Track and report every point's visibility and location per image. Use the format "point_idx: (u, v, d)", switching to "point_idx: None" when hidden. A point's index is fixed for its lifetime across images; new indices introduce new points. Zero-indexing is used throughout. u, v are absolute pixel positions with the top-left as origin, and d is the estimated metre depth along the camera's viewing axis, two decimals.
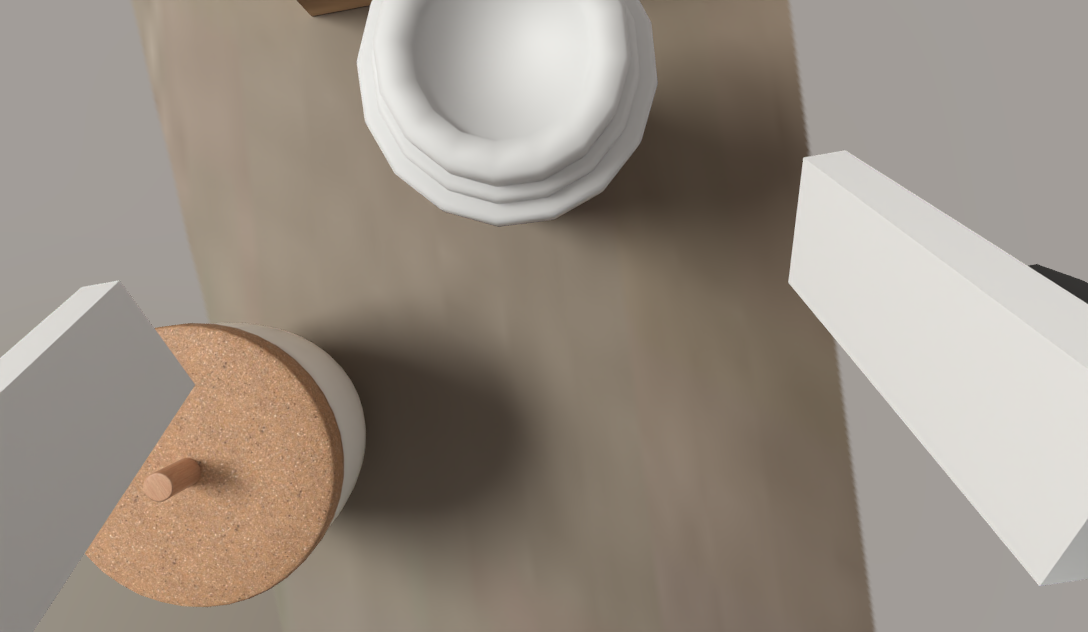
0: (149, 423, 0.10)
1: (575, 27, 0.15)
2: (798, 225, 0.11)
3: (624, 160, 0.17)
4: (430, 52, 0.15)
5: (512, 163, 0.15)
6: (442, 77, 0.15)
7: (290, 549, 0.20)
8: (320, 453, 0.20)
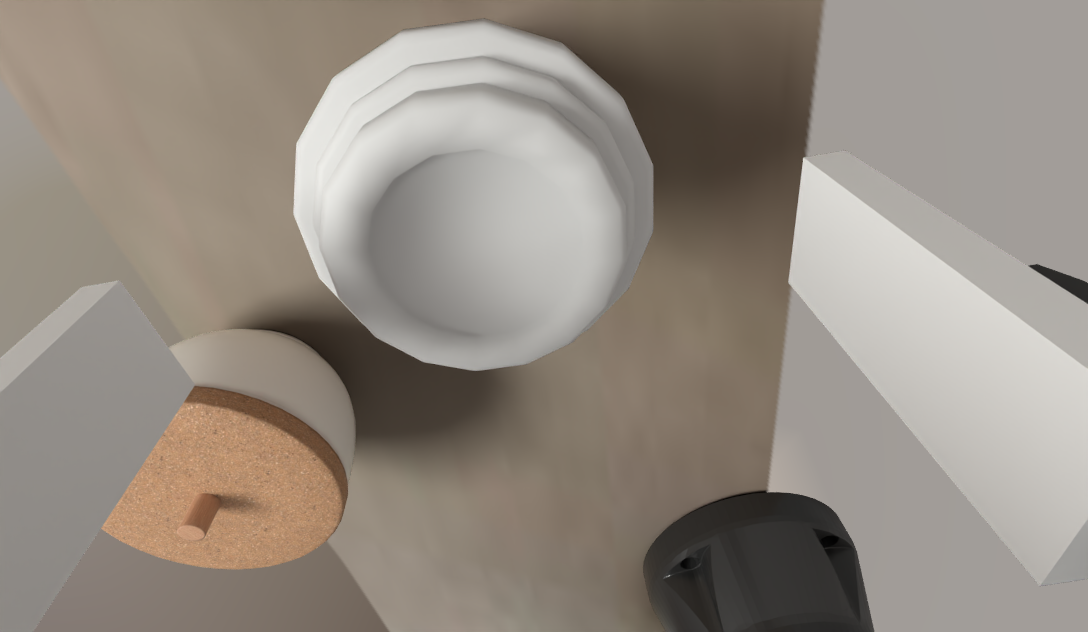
0: (150, 423, 0.10)
1: (565, 224, 0.13)
2: (798, 225, 0.11)
3: None
4: (392, 253, 0.13)
5: (495, 360, 0.14)
6: (410, 277, 0.13)
7: (315, 536, 0.25)
8: (325, 482, 0.23)
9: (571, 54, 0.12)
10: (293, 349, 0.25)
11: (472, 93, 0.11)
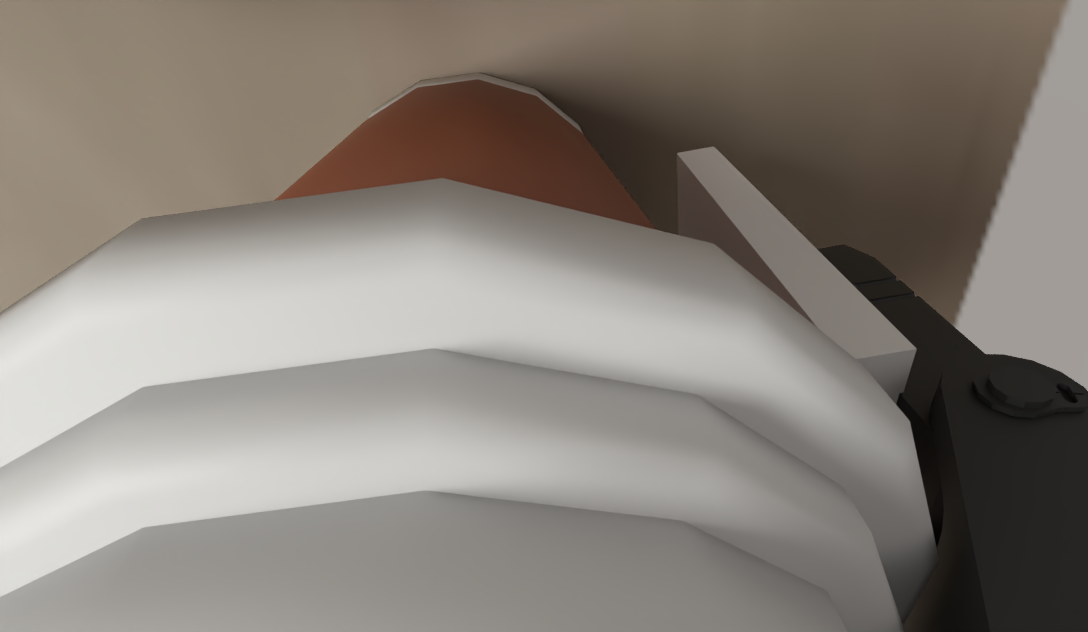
0: None
1: None
2: (680, 214, 0.12)
3: None
4: None
5: None
6: None
7: None
8: None
9: (772, 318, 0.03)
10: None
11: None
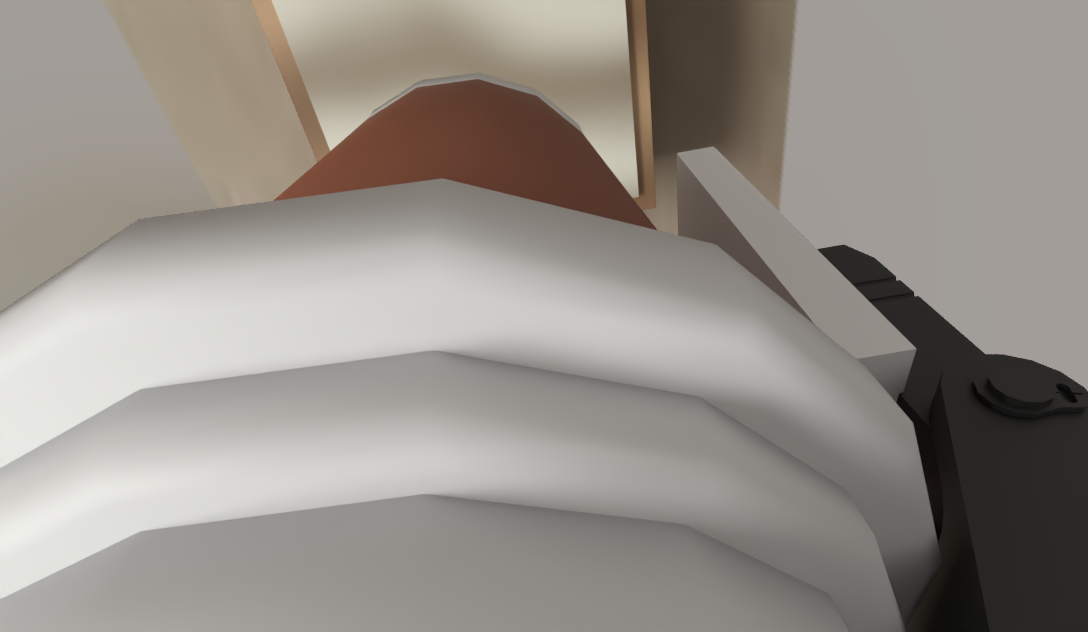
0: None
1: None
2: (680, 214, 0.12)
3: None
4: None
5: None
6: None
7: None
8: None
9: (774, 319, 0.03)
10: None
11: None
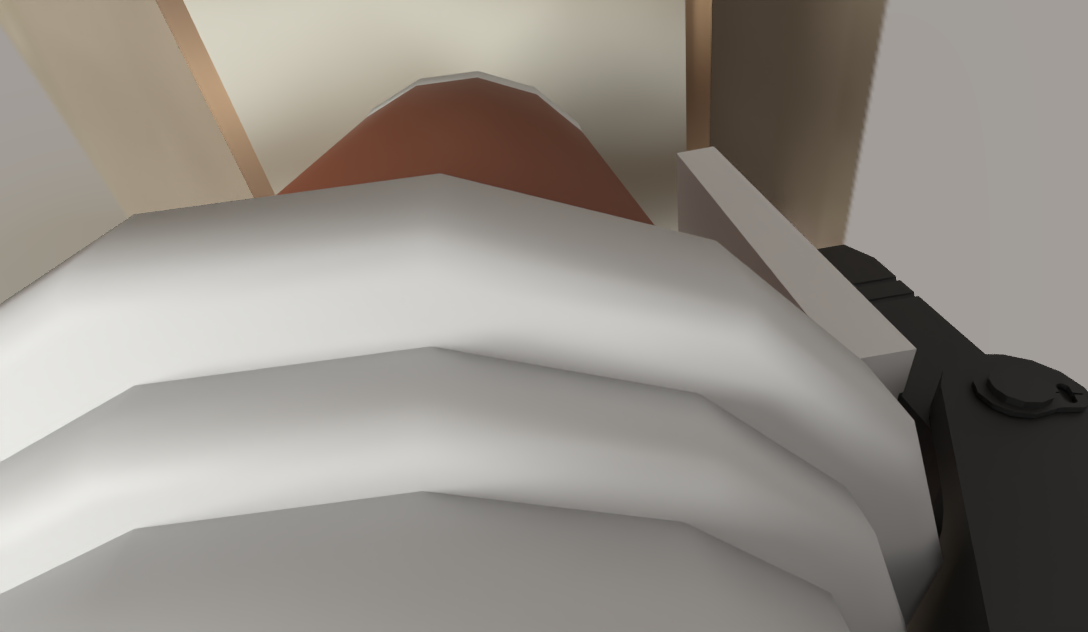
0: None
1: None
2: (680, 214, 0.12)
3: None
4: None
5: None
6: None
7: None
8: None
9: (775, 316, 0.03)
10: None
11: None
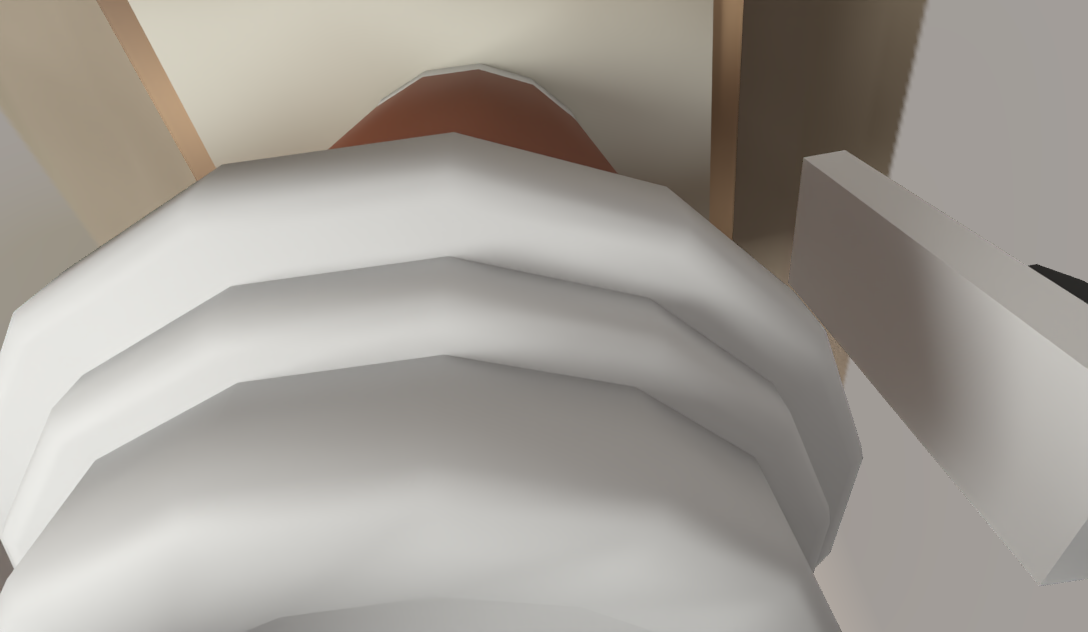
0: None
1: None
2: (798, 225, 0.11)
3: None
4: None
5: None
6: None
7: None
8: None
9: (706, 237, 0.04)
10: None
11: (400, 468, 0.03)
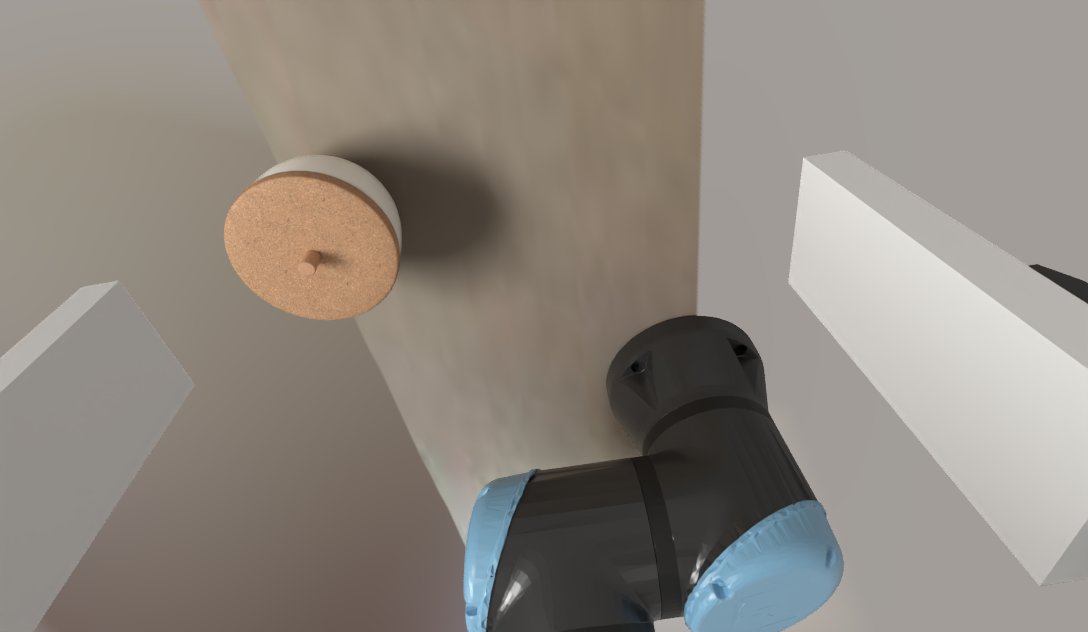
0: (150, 423, 0.10)
1: None
2: (797, 225, 0.11)
3: None
4: None
5: None
6: None
7: (378, 291, 0.37)
8: (388, 244, 0.35)
9: None
10: (362, 168, 0.37)
11: None
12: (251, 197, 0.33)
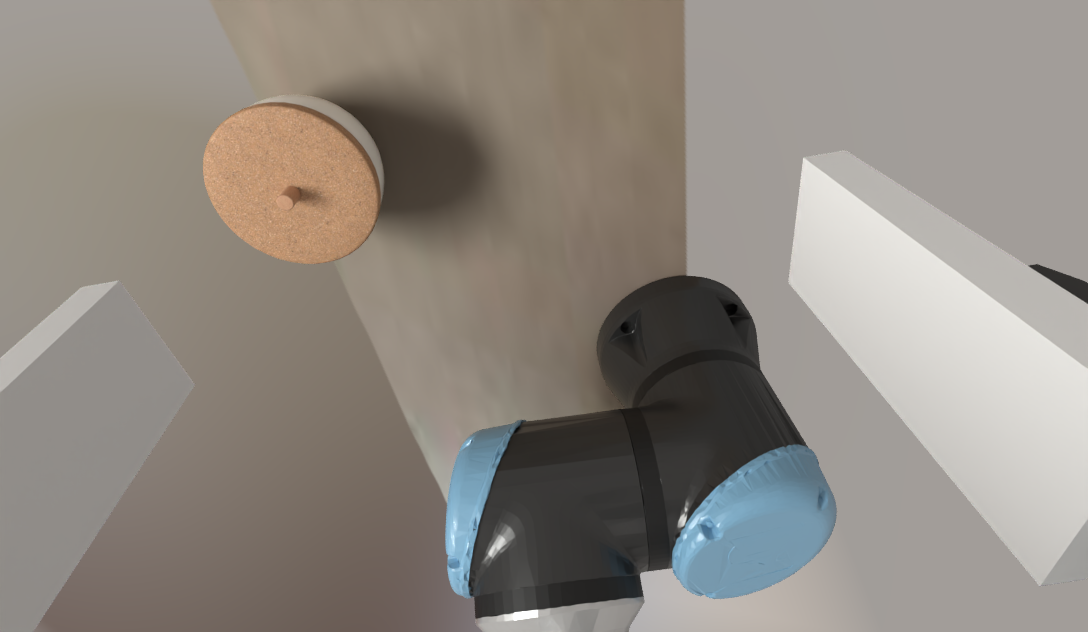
0: (149, 423, 0.10)
1: None
2: (798, 225, 0.11)
3: None
4: None
5: None
6: None
7: (359, 232, 0.37)
8: (368, 181, 0.35)
9: None
10: (343, 109, 0.37)
11: None
12: (229, 128, 0.33)
